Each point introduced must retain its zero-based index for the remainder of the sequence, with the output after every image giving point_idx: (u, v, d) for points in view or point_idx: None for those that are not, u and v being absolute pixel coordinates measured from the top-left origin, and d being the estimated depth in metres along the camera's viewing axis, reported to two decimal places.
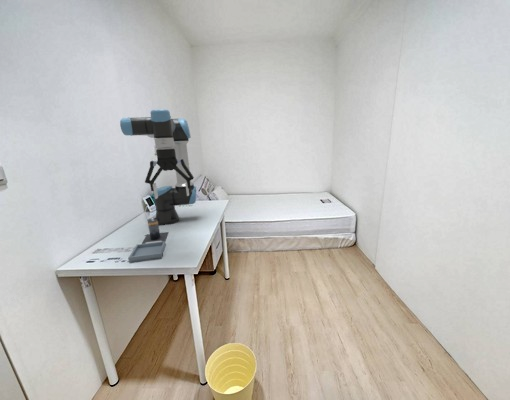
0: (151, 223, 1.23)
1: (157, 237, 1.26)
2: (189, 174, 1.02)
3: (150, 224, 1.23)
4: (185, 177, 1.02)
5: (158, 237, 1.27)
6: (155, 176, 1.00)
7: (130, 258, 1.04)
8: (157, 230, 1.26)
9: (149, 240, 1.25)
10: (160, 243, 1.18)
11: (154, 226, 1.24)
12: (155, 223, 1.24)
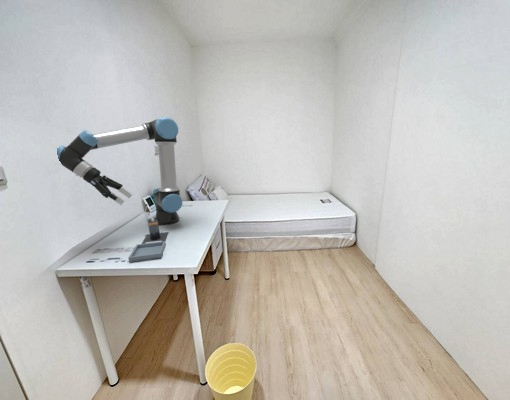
0: (151, 223, 1.23)
1: (157, 237, 1.26)
2: None
3: (150, 224, 1.23)
4: None
5: (158, 237, 1.27)
6: None
7: (130, 258, 1.04)
8: (157, 230, 1.26)
9: (149, 240, 1.25)
10: (160, 243, 1.18)
11: (154, 226, 1.24)
12: (155, 223, 1.24)
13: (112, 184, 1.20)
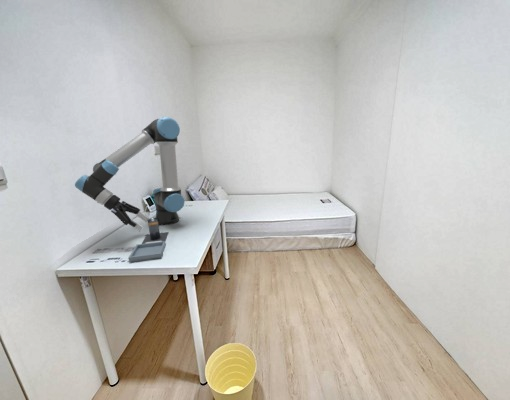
0: (151, 223, 1.23)
1: (157, 237, 1.26)
2: None
3: (150, 224, 1.23)
4: None
5: (158, 237, 1.27)
6: None
7: (130, 258, 1.04)
8: (157, 230, 1.26)
9: (149, 240, 1.25)
10: (160, 243, 1.18)
11: (154, 226, 1.24)
12: (155, 223, 1.24)
13: (130, 209, 1.25)
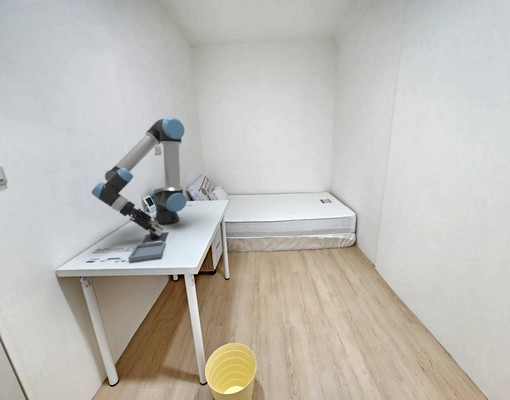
0: (151, 223, 1.23)
1: (157, 237, 1.26)
2: None
3: (150, 224, 1.23)
4: None
5: (158, 237, 1.27)
6: None
7: (130, 258, 1.04)
8: None
9: (149, 240, 1.25)
10: (160, 243, 1.18)
11: None
12: (155, 223, 1.24)
13: (145, 217, 1.26)
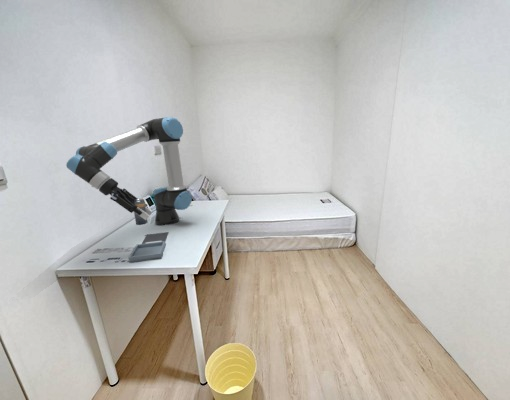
0: (136, 205, 1.05)
1: (143, 222, 1.08)
2: None
3: None
4: None
5: (144, 222, 1.09)
6: None
7: (130, 258, 1.04)
8: None
9: (149, 240, 1.25)
10: (160, 243, 1.18)
11: (140, 208, 1.06)
12: (141, 205, 1.06)
13: (130, 198, 1.08)
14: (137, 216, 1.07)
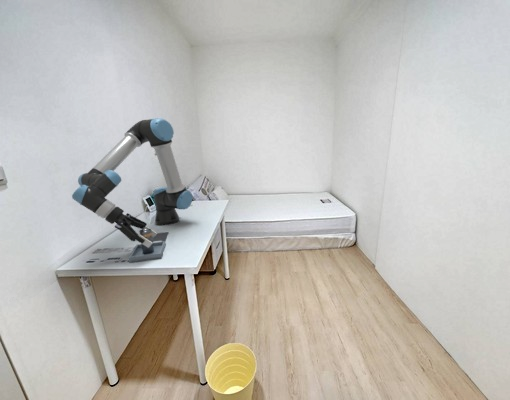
0: (144, 235, 1.07)
1: (150, 251, 1.10)
2: None
3: None
4: None
5: (151, 251, 1.10)
6: None
7: (130, 258, 1.04)
8: None
9: None
10: (160, 243, 1.18)
11: (147, 238, 1.08)
12: (148, 235, 1.08)
13: (135, 223, 1.11)
14: (144, 246, 1.08)
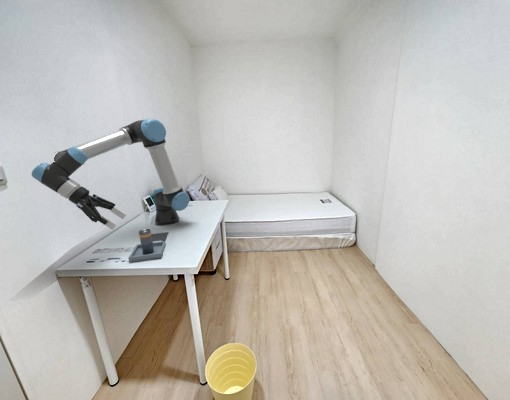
0: (143, 236, 1.07)
1: (150, 251, 1.10)
2: None
3: (142, 236, 1.07)
4: (94, 217, 0.97)
5: (151, 251, 1.10)
6: None
7: (130, 258, 1.04)
8: (150, 243, 1.09)
9: None
10: (160, 243, 1.18)
11: (146, 239, 1.08)
12: (147, 235, 1.08)
13: (103, 204, 1.07)
14: (144, 246, 1.08)
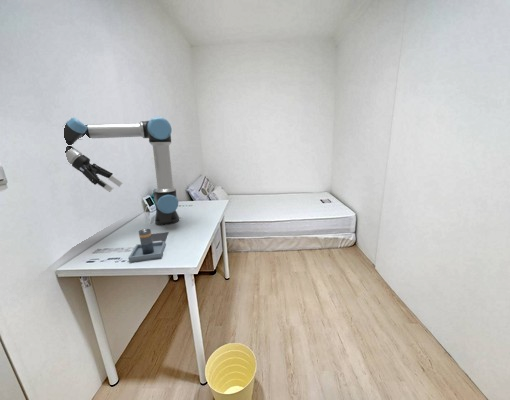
0: (143, 236, 1.07)
1: (150, 251, 1.10)
2: None
3: (142, 236, 1.07)
4: None
5: (151, 251, 1.10)
6: None
7: (130, 258, 1.04)
8: (150, 243, 1.09)
9: None
10: (160, 243, 1.18)
11: (146, 239, 1.08)
12: (147, 235, 1.08)
13: (102, 172, 1.22)
14: (144, 246, 1.08)
